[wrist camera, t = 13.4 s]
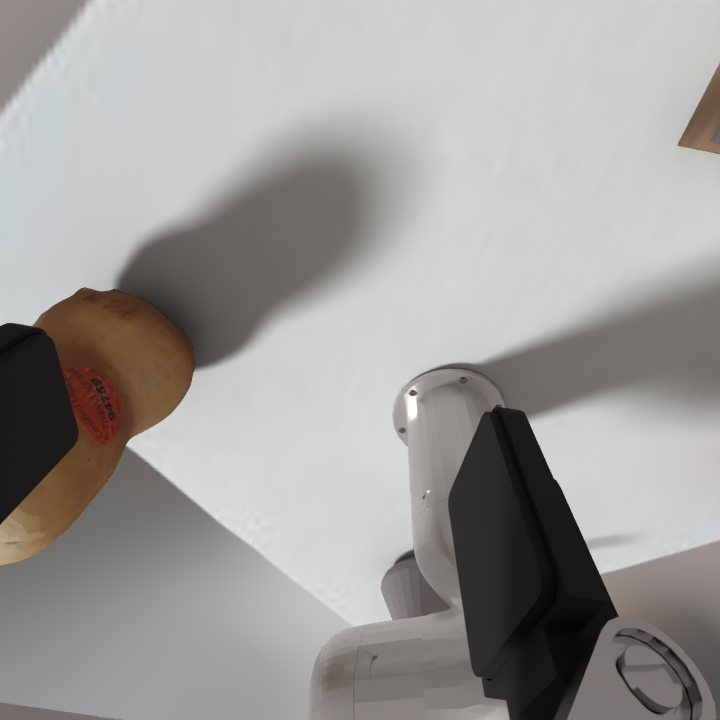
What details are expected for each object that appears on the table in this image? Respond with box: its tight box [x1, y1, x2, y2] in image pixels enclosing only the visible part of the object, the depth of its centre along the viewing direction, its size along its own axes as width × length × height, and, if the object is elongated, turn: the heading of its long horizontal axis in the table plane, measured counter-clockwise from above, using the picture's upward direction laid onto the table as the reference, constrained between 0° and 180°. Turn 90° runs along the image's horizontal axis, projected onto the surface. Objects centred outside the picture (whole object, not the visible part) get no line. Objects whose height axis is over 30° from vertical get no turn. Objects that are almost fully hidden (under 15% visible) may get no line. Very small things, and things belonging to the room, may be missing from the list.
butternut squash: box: [0, 287, 195, 565], centre depth 33 cm, size 14×13×25 cm
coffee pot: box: [381, 557, 451, 620], centre depth 56 cm, size 21×12×15 cm, turn 110°
